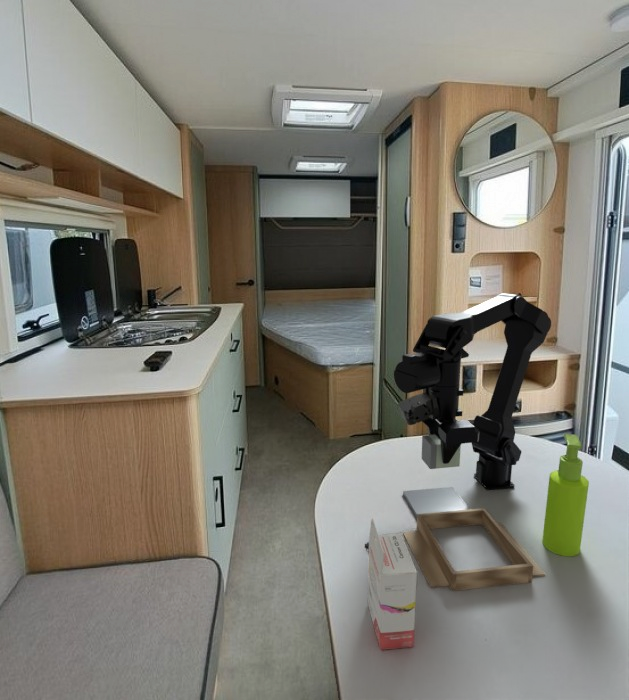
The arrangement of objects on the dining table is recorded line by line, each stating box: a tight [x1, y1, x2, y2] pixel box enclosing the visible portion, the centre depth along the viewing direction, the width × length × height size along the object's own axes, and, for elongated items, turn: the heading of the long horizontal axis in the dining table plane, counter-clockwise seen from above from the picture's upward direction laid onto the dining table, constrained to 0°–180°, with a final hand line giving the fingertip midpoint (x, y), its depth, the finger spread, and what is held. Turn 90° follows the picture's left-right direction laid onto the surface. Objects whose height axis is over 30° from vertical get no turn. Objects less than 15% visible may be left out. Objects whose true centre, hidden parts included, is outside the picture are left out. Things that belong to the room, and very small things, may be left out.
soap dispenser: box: [542, 433, 590, 557], centre depth 80 cm, size 6×7×20 cm
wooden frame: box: [402, 507, 546, 592], centre depth 80 cm, size 19×16×3 cm
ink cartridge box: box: [367, 518, 418, 651], centre depth 64 cm, size 9×5×15 cm, turn 5°
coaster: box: [402, 486, 471, 519], centre depth 95 cm, size 11×10×1 cm
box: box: [421, 434, 462, 470], centre depth 92 cm, size 6×4×5 cm
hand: (440, 457), depth 92 cm, fingers closed on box, 4 cm apart
